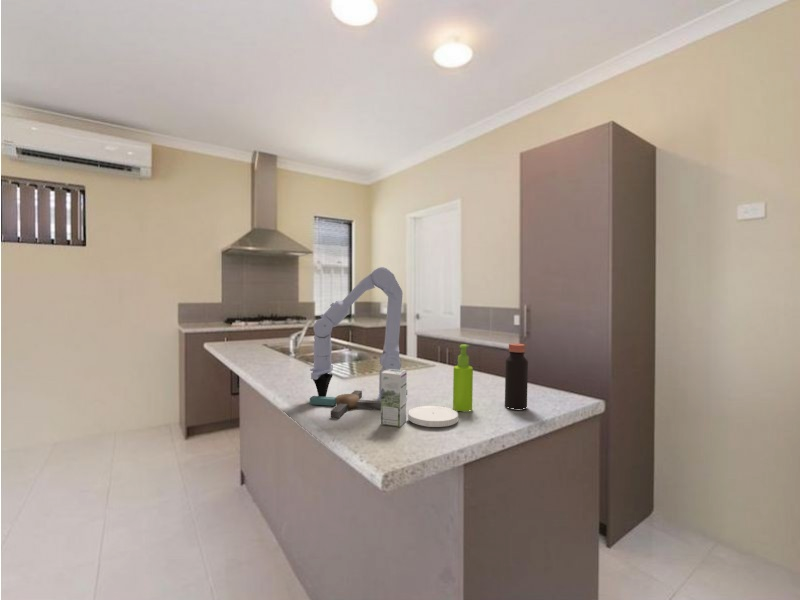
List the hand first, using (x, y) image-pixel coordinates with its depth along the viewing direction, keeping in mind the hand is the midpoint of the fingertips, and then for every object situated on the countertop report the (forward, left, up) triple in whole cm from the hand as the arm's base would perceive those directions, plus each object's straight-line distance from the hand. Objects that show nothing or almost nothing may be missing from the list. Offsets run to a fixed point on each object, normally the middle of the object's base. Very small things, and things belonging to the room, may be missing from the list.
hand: (322, 396), depth 129 cm
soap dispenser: (-45, +7, -2) cm, 46 cm away
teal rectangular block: (-1, +4, -1) cm, 5 cm away
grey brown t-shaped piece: (-13, +7, -1) cm, 15 cm away
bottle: (-62, +5, -2) cm, 62 cm away
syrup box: (-24, +21, -2) cm, 32 cm away
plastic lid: (-35, +18, -2) cm, 39 cm away
